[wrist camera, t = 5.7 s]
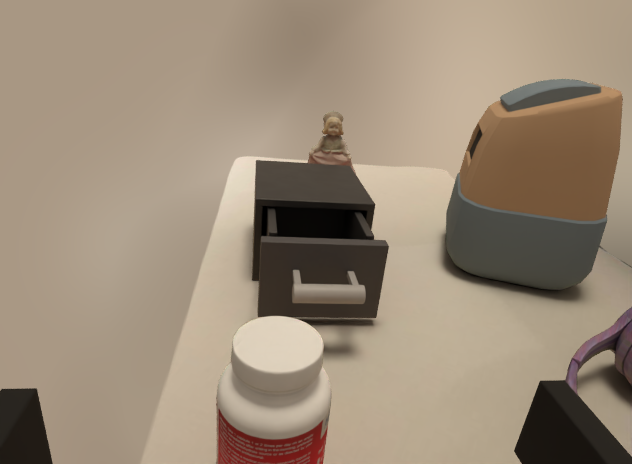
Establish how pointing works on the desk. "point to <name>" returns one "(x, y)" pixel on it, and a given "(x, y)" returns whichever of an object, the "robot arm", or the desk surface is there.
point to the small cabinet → (305, 193)
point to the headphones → (622, 338)
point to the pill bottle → (273, 395)
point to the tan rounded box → (537, 185)
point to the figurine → (331, 143)
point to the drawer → (319, 264)
